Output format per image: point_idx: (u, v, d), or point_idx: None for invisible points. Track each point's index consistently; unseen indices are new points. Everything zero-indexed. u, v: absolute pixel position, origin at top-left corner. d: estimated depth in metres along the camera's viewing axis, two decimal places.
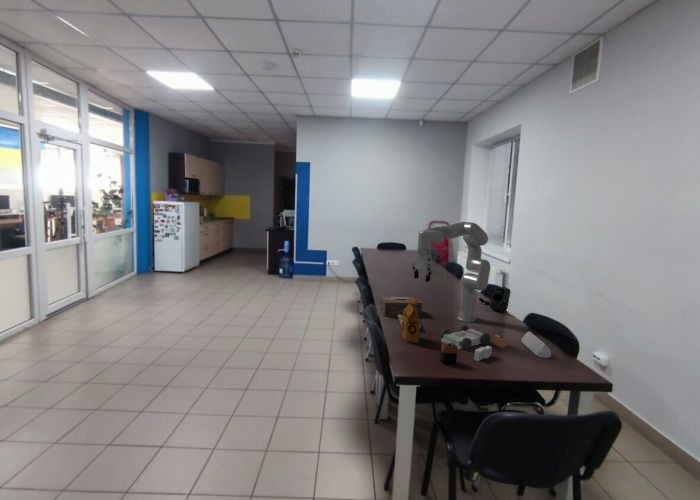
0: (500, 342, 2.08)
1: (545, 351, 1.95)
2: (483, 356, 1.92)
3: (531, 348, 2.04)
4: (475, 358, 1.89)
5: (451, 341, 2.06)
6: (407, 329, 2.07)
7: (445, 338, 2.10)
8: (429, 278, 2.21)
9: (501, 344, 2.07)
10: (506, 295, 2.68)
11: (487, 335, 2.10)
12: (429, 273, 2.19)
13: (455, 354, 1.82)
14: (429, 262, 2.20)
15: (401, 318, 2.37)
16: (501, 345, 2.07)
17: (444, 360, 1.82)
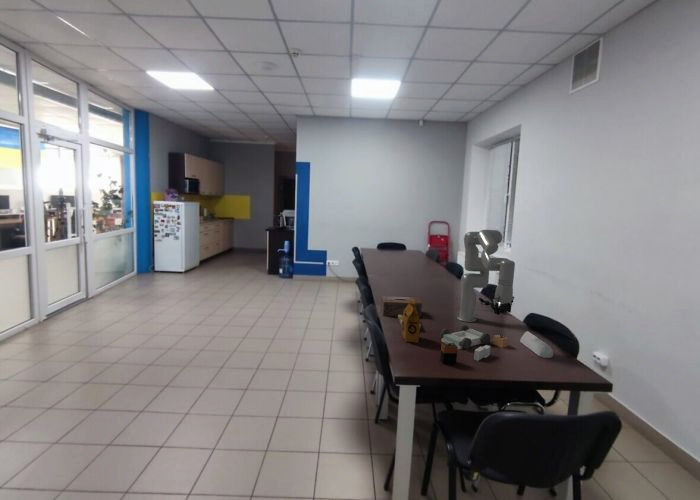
0: (500, 342, 2.08)
1: (548, 351, 1.95)
2: (482, 356, 1.92)
3: (532, 348, 2.04)
4: (475, 358, 1.89)
5: (451, 341, 2.06)
6: (407, 329, 2.07)
7: (445, 338, 2.10)
8: None
9: (501, 344, 2.07)
10: None
11: (487, 335, 2.10)
12: (511, 302, 2.10)
13: (455, 354, 1.82)
14: None
15: (401, 318, 2.37)
16: (501, 345, 2.07)
17: (444, 360, 1.82)
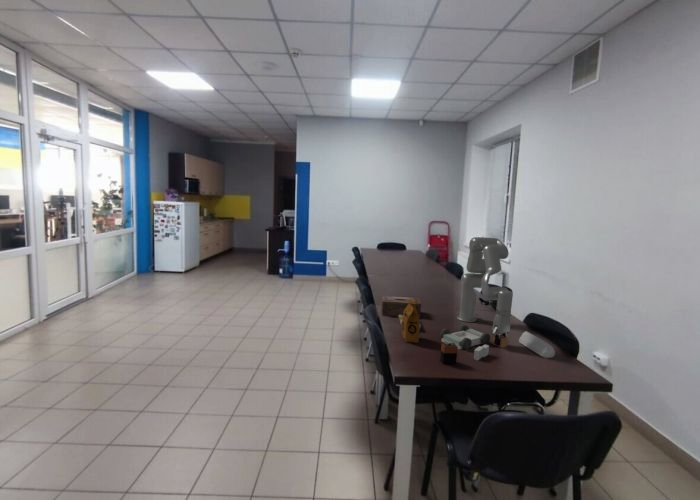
0: (500, 342, 2.08)
1: (550, 352, 1.95)
2: (482, 355, 1.93)
3: (533, 348, 2.04)
4: (474, 357, 1.90)
5: (451, 341, 2.06)
6: (407, 329, 2.07)
7: (445, 338, 2.10)
8: None
9: (501, 344, 2.07)
10: None
11: (487, 335, 2.10)
12: None
13: (455, 354, 1.82)
14: None
15: (401, 318, 2.38)
16: (501, 345, 2.07)
17: (444, 360, 1.82)
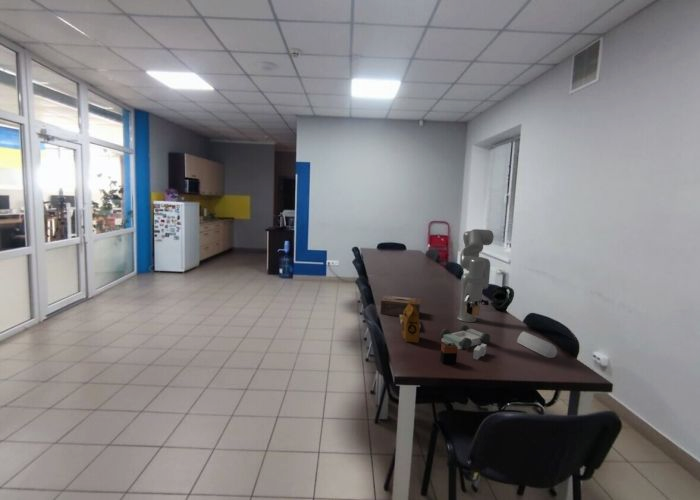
0: (472, 310, 2.08)
1: (553, 351, 1.96)
2: (480, 354, 1.94)
3: (534, 349, 2.03)
4: (474, 357, 1.90)
5: (451, 341, 2.06)
6: (407, 329, 2.07)
7: (445, 338, 2.10)
8: None
9: (473, 312, 2.07)
10: (511, 294, 2.71)
11: (487, 335, 2.10)
12: None
13: (455, 354, 1.82)
14: None
15: (402, 318, 2.38)
16: (473, 313, 2.08)
17: (444, 360, 1.82)
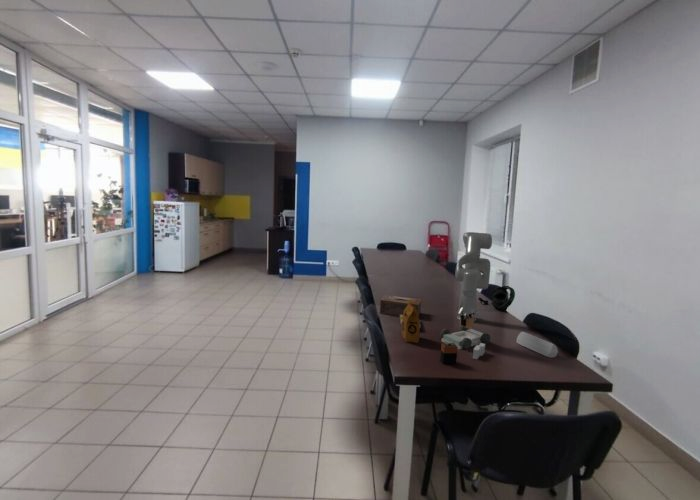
0: (466, 322, 2.09)
1: (555, 351, 1.96)
2: (479, 354, 1.94)
3: (535, 349, 2.03)
4: (474, 357, 1.91)
5: (451, 341, 2.06)
6: (407, 329, 2.07)
7: (445, 338, 2.10)
8: None
9: (467, 324, 2.09)
10: (512, 294, 2.72)
11: (487, 335, 2.10)
12: (473, 315, 2.13)
13: (455, 354, 1.82)
14: None
15: (402, 318, 2.38)
16: (467, 325, 2.09)
17: (444, 360, 1.82)
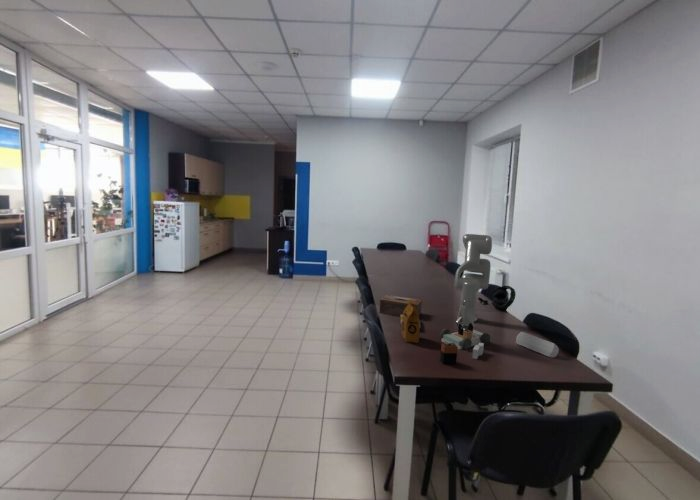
0: (464, 335, 2.11)
1: (556, 351, 1.96)
2: (478, 353, 1.95)
3: (536, 349, 2.03)
4: (473, 356, 1.91)
5: (451, 341, 2.06)
6: (407, 329, 2.07)
7: (445, 338, 2.10)
8: None
9: (465, 337, 2.10)
10: (512, 294, 2.73)
11: (487, 335, 2.10)
12: (474, 323, 2.15)
13: (455, 354, 1.82)
14: None
15: (402, 318, 2.38)
16: None
17: (444, 360, 1.82)
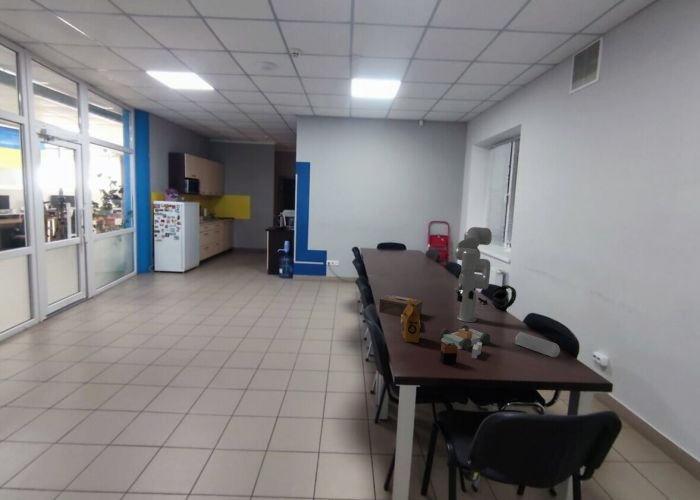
0: (464, 335, 2.11)
1: (558, 350, 1.97)
2: (477, 353, 1.95)
3: (537, 349, 2.03)
4: (473, 356, 1.91)
5: (451, 341, 2.06)
6: (407, 329, 2.07)
7: (445, 338, 2.10)
8: None
9: (465, 337, 2.10)
10: (514, 293, 2.74)
11: (487, 335, 2.10)
12: (474, 290, 2.22)
13: (455, 354, 1.82)
14: None
15: None
16: None
17: (444, 360, 1.82)
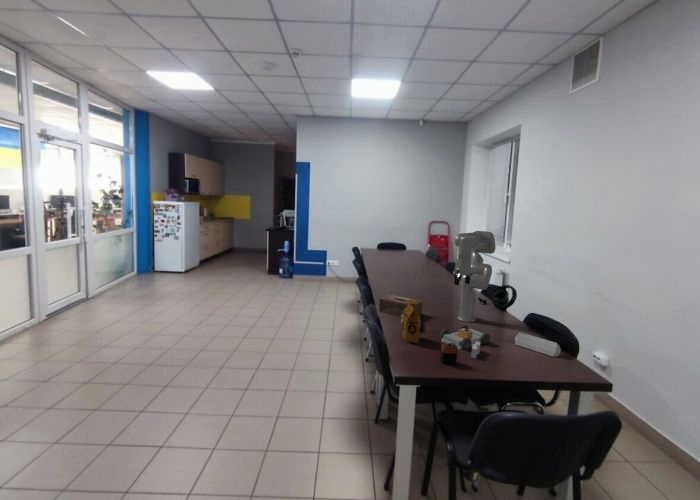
0: (464, 335, 2.11)
1: (559, 350, 1.98)
2: (476, 352, 1.96)
3: (538, 349, 2.03)
4: (472, 356, 1.92)
5: (451, 341, 2.06)
6: (407, 329, 2.07)
7: (445, 338, 2.10)
8: None
9: (465, 337, 2.10)
10: (514, 293, 2.75)
11: (487, 335, 2.10)
12: (470, 275, 2.34)
13: (455, 354, 1.82)
14: None
15: None
16: None
17: (444, 360, 1.82)
